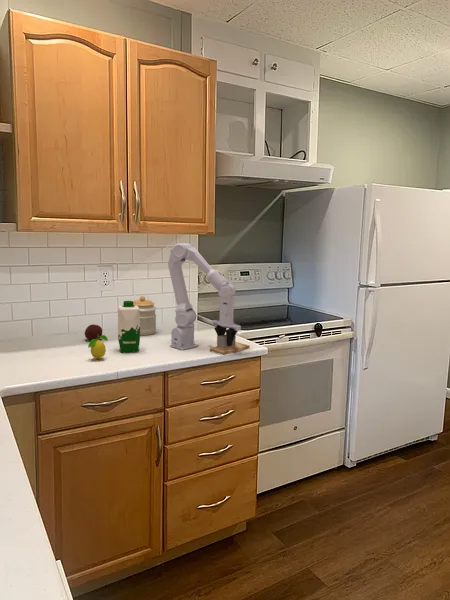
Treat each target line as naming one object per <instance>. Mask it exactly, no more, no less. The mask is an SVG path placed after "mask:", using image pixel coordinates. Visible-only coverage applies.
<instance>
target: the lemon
mask: <svg viewBox="0 0 450 600" xmlns="http://www.w3.org/2000/svg"><path fill="white" fill-rule="evenodd" d="M99 337H100V338H99V339H92V340H89V342H88V346H87V347H88V348H90V354H91V356H92V357H93V358H95V359H96V360H100V358H101V359H102V358H103V357H104V356H105V355H106V352H107V349H106V345H105V344H104V342H103V341H105V342H106V341H107V342H108V341H109V339H108V337H107V335H105V334H102V335H101V336H99ZM100 339H101V340H100ZM102 340H103V341H102Z"/></svg>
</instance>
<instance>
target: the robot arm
mask: <svg viewBox="0 0 450 600" xmlns="http://www.w3.org/2000/svg"><path fill="white" fill-rule="evenodd" d="M169 251H170V255H169V258H168V262H167V265H168V266H167V267H168V270H169V275H170V279H171V284H172V288H173V293H174V297H175V302H176V307H175V311H174V312H175V316H174V318H175V319H174V322H175V323H176V327H174V328H172V330H171V333H170V334H171V335H170V337H171V339H170V341H171V344H170V347H172V348H174V349H177V350H181V351H183V350H187V349H188V350H189V349H191V348H196V347H199V345H198V344H195V321H196V320H197V313H196V311H195V310H194V307H193V305H192V304H191V302H190V299H189V295H188V291H187V286H186V280H185V276H184V272H183V267H182V266H183V265H184V264H185V262H186V261H190V262H194V264H195V265H196V266H197V267H199V268H200V269H201V271H202V272H204V274H206V280H207V281H208V282H209V283H210V284H211V285H212V287H214V288H215V290H217V292H218V296H219V297H220V300H219V301H220V302H219V320H217V319H213V320H212V322H211V323H212V326H215V327H214V331H215V334H216V335H217V336H221V335H227V346H232V343H233V339H234V337H235V336H236V334H237V333H238V332H239V331H241V330H242V326H241V325H240V324H236V323H235V322H234V310H235V300H234V299H235V296H234V295H236V291H237V289H236V286H235V284H233V283H232V282H230V281H229V279H226V277H224V275H223V272H222V271H221V270H218V269H213V268H212V266H211V265H210V264H209V263H208V262H207V260H206V259H205V258H204V257H203V256H202V254H201V253H199V250H198V249H197V248H195V247H194V245H193V244H191V242H183V243H181V242H178V243H176V244H174V245H173V246H172V247H171V249H170V250H169ZM217 336H216V337H217Z"/></svg>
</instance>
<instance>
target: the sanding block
mask: <svg viewBox="0 0 450 600" xmlns="http://www.w3.org/2000/svg"><path fill="white" fill-rule="evenodd" d="M236 338H237V336H236V335H235V337H234V339H233V343H232V346H227V335H226V334H225V335H221V336H216V347H217V348H218V349H222V350H226V349H230V348H234V347H235V342H237V341H236V340H237V339H236Z"/></svg>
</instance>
